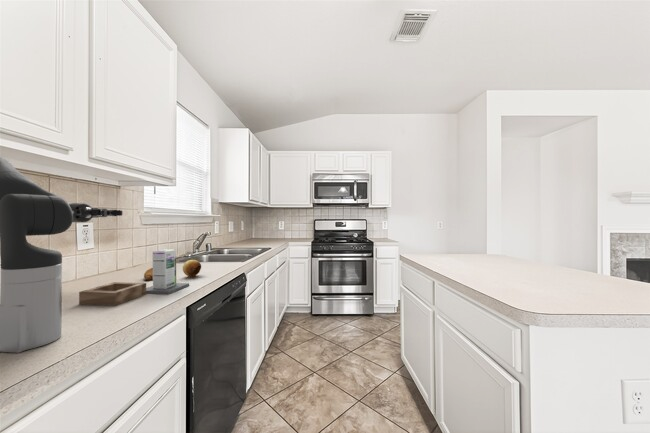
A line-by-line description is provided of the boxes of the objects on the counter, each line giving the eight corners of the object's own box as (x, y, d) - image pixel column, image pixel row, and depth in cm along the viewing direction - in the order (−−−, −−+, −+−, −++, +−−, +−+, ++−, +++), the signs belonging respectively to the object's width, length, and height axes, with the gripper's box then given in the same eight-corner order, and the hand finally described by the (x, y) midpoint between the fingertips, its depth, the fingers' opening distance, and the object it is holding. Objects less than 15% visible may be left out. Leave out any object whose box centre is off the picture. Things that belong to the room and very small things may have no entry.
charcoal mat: (169, 294, 96) (169, 291, 96) (139, 293, 98) (139, 290, 98) (189, 285, 108) (189, 283, 108) (162, 284, 109) (162, 282, 109)
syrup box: (165, 289, 99) (165, 250, 99) (152, 288, 100) (152, 250, 100) (176, 285, 105) (176, 249, 105) (163, 284, 106) (163, 248, 106)
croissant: (156, 281, 117) (156, 269, 117) (138, 282, 115) (138, 270, 115) (164, 274, 130) (164, 264, 130) (149, 275, 128) (149, 265, 128)
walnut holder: (115, 305, 84) (115, 292, 84) (79, 304, 85) (79, 291, 85) (146, 293, 97) (146, 283, 97) (114, 292, 98) (114, 282, 98)
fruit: (203, 274, 129) (203, 258, 129) (196, 278, 121) (196, 261, 121) (187, 274, 129) (187, 258, 129) (179, 278, 121) (179, 261, 121)
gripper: (53, 202, 95) (94, 201, 94) (92, 204, 110) (127, 203, 108) (53, 222, 95) (94, 222, 94) (91, 222, 110) (127, 222, 108)
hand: (112, 212), depth 101 cm, fingers open, 8 cm apart
